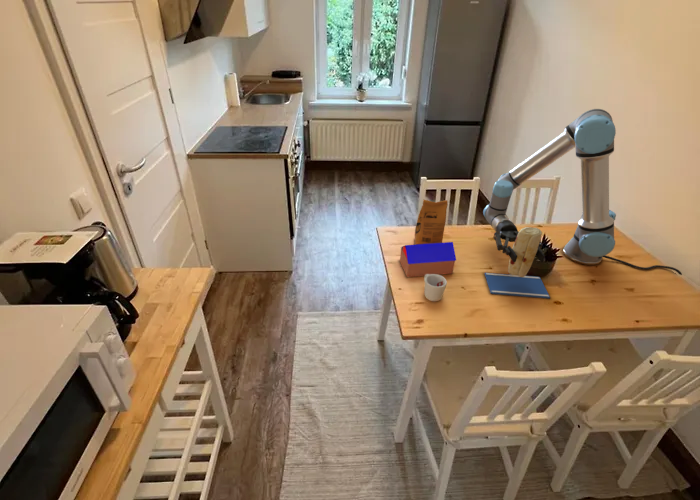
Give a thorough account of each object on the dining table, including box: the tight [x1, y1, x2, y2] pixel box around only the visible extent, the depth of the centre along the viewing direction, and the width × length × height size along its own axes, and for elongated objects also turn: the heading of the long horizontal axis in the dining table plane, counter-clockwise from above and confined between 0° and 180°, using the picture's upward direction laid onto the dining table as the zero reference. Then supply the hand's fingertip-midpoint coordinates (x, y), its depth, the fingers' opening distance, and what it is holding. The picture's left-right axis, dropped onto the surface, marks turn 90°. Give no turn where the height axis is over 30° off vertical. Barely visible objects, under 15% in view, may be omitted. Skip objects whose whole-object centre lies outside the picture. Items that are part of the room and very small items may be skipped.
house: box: [399, 241, 457, 278], centre depth 158 cm, size 12×20×12 cm, turn 99°
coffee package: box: [414, 199, 449, 245], centre depth 171 cm, size 10×12×22 cm
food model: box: [507, 226, 543, 277], centre depth 143 cm, size 10×7×20 cm
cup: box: [423, 274, 448, 302], centre depth 144 cm, size 11×8×8 cm
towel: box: [484, 272, 551, 300], centre depth 152 cm, size 22×13×1 cm, turn 84°
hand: (529, 258), depth 140 cm, fingers closed on food model, 10 cm apart
